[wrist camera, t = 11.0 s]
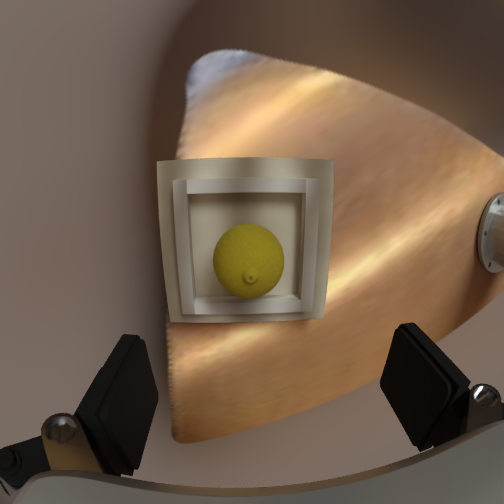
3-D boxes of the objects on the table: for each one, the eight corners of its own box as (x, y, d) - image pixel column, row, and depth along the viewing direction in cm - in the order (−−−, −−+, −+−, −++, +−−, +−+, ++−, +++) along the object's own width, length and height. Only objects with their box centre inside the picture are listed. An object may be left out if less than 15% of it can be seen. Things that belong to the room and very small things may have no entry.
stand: (324, 161, 27) (339, 159, 23) (316, 305, 31) (327, 325, 27) (165, 162, 26) (152, 161, 22) (175, 308, 31) (167, 329, 26)
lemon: (289, 244, 26) (309, 275, 18) (247, 285, 27) (251, 329, 19) (245, 203, 25) (249, 218, 17) (204, 247, 26) (190, 280, 18)
